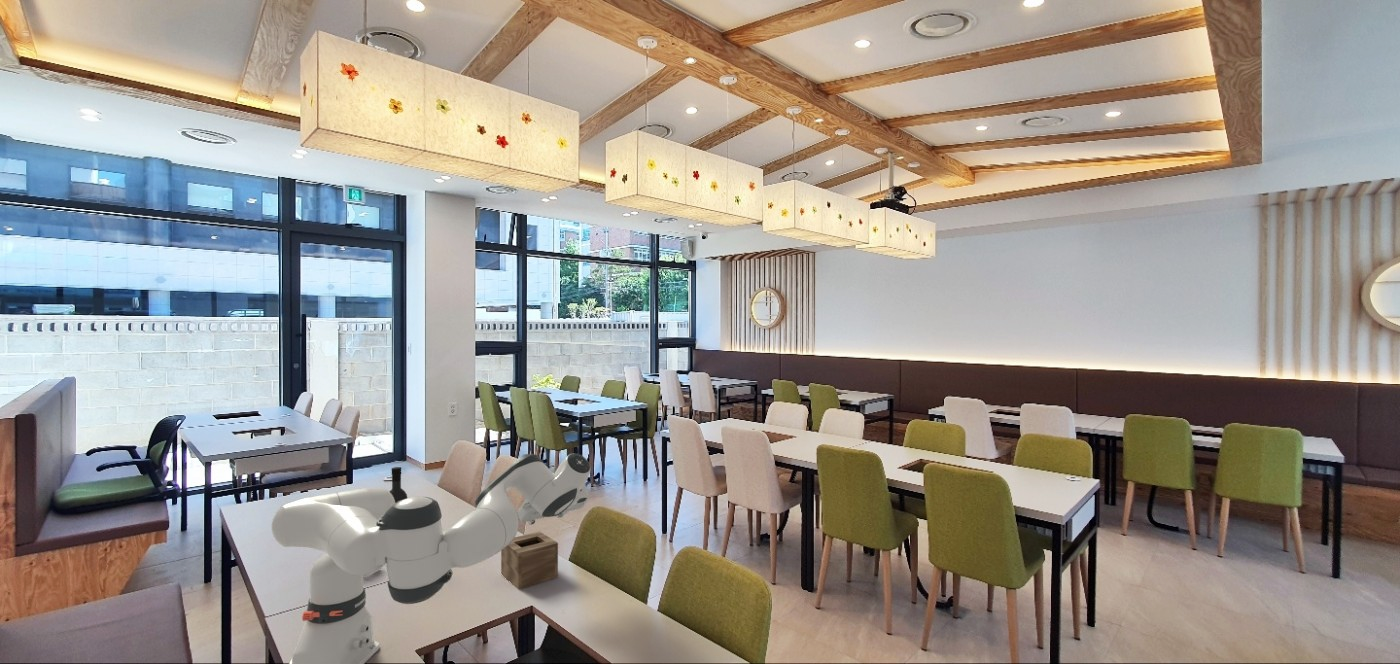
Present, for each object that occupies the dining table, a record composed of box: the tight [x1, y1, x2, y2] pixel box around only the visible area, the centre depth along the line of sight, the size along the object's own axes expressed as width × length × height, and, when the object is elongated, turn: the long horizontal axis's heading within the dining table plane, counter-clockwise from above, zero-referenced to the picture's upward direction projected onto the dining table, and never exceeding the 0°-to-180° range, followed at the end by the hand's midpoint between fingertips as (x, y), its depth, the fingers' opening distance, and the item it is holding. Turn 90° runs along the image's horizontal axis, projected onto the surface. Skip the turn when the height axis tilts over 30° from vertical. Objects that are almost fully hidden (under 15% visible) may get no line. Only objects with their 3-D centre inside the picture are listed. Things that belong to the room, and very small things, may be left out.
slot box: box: [500, 531, 559, 590], centre depth 190 cm, size 13×13×11 cm
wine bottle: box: [388, 466, 409, 503], centre depth 206 cm, size 6×6×30 cm
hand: (545, 518), depth 181 cm, fingers open, 8 cm apart
